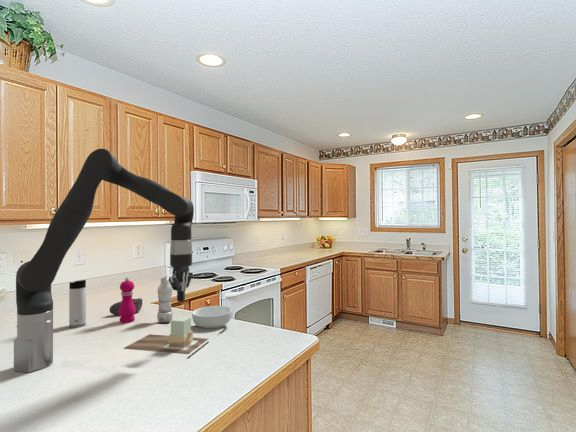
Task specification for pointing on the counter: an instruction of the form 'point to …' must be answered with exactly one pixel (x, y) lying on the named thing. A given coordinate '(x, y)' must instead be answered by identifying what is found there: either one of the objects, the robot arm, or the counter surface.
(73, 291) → the travel mug
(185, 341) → the maple block
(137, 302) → the perforated stone tool
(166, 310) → the plastic bottle
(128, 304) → the pepper mill
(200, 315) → the cereal bowl
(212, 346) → the counter surface
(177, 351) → the brown flat wooden board
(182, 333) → the sage block
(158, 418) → the counter surface
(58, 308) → the counter surface
